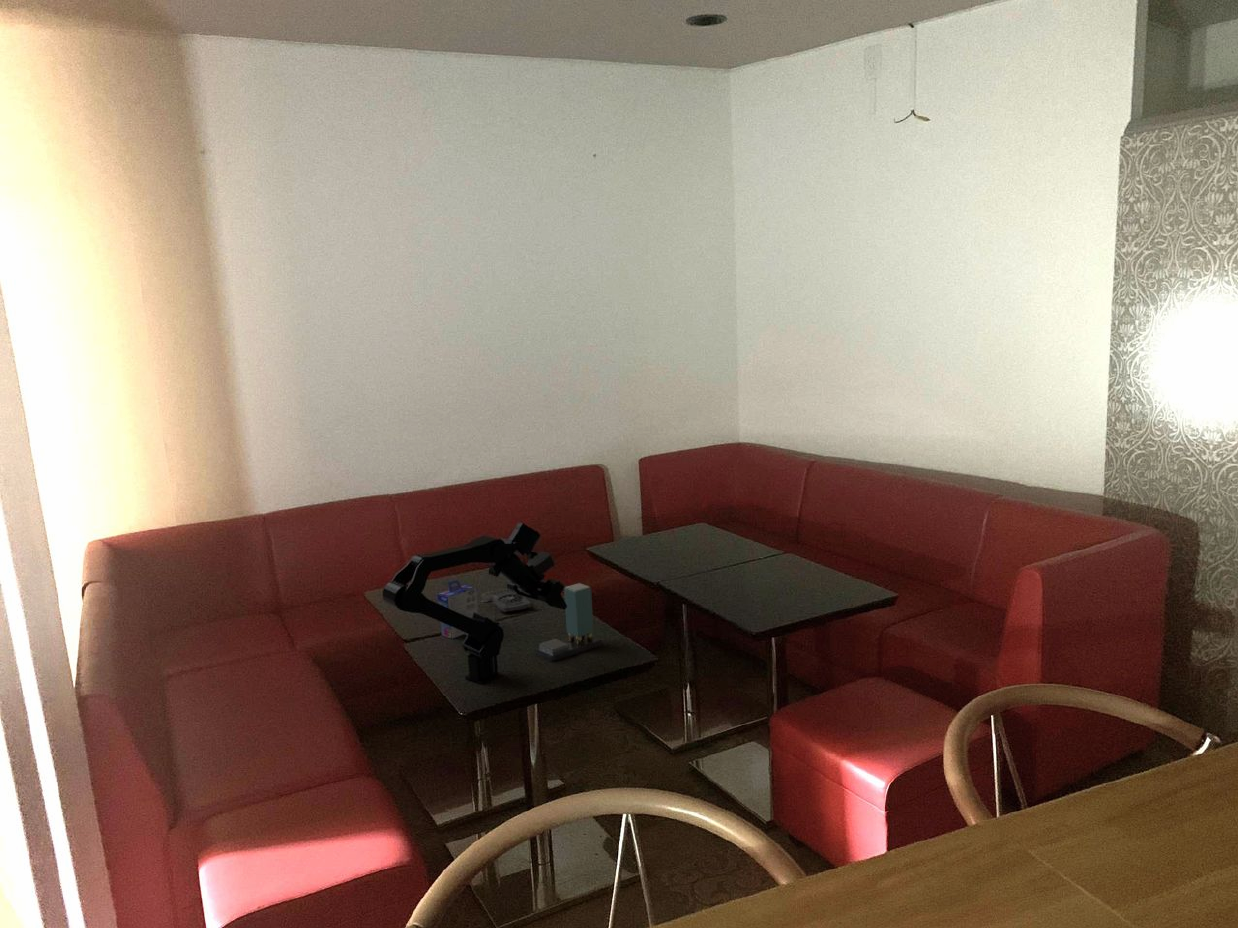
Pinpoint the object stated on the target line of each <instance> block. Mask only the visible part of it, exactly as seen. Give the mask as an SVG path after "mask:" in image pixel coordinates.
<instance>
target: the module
mask: <svg viewBox="0 0 1238 928" xmlns="http://www.w3.org/2000/svg"><path fill="white" fill-rule="evenodd" d="M563 593H564V594H563V595H564V601H565V603H566V605H567V608H566V609H565V622H566V624H565V625H566V633H567V634H568V635H569V634H571V635H574V636H576V637H581V636H584V635H587V634H590V633H592V634H593V633H594V617H593V616H594V615H593V614H594V613H593V599H592V597H593V596H592V587H590V586H589V585H586V584H583V583H581V582H579V583H575V584H571V585H568V586H567V585H566V586H564V589H563Z"/></svg>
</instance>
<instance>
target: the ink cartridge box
mask: <svg viewBox="0 0 1238 928" xmlns="http://www.w3.org/2000/svg"><path fill="white" fill-rule="evenodd" d="M453 584H456V585H454V586H452V585H453ZM447 587H448V590H446V591H443V592H439V593H437V594H436V595H437V603H438V604H440V605H442V606H444V607H447V608H449V609H451V610H453V611H456V612H458V613H460V614H462V615H464V616H467V617H473V614H474V612H475V613H478V614H479V610H478V600H477V590H476V589H477V588H476V587H475V586H470V585H467V584H463V585H461V584H460V582H459V580H458V579H455V580H453V581H449V582H447ZM440 629H441V636H443V637H446V638H449V639H455V638H457V637H461V636H463V635H465V634H464V633H463V632H462V631H461V630H458V629H456V628H454V627H451V626H449V625H447V624H445V623H442V622H440Z"/></svg>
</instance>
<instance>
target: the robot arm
mask: <svg viewBox="0 0 1238 928" xmlns="http://www.w3.org/2000/svg"><path fill="white" fill-rule="evenodd" d="M541 538H542V535H541V533H540V532H538V530H535V529H533V528H532V527H530V526H529V525H527V524H525V523H524V522H520V521H518V522H517V524H516V526H515V527H514V530H513V531H512V533H511V534H510V535H509V537H508V538H507V539H506V538H502V537H501V538H499V537H498V538H497V537H495V536H490V535H481V536H479V537H477V538H474V539H472V540H470V541H469V542H468V543H466V544H464V545H460V546H456V547H452V548H447V549H442V550H438V551H437V550H436V551H434V552H433V551H432V552H429V553H423V554H422V553H418V554H416V555H414V556H412V557H411V558H410V559H409V561H408V562H407V564H406V565H405V566H403V567H402V568H401V569H400V570H399V571H398V572H396V574H395V575H394V576H393V578H392V579H391V580H390V581H389V582H388V583H386V584H385V585H384V586H383V589H382V596H381V597H382V599H383V601H384V603H386V604H387V605H389V606H392V607H393V608H396V609H397V610H399V611H402V612H406V613H413V614H420V615H421V614H422V615H423V616H424V615H425V616H427V617H429V618H431V619H433V620H436V621H438V622H440V623H441V622H442V623H445V624H447V625H449V626H451V627H454V628H456V629H458V630H461V631H462V632H463V633H464V634H463V635H466V637H465V639H464V640H463V642H462V643H461V647H462V649H463V651H464V652H465V653H466V652H467V653H468V654H467V665H468V675H465V677H464V678H465V680H469V681H472V682H475V683H477V684H480V685H484V684H486V683H488V682H490V681H492V680H493V681H494V680H496V679H497V678H499V677H501V676H502V673H501V672H499V669H498V657H497V656H499V655H500V651H501V648H502V647H501V646H502V642H503V640H504V637H505V636H504V635H505V634H504V629H503V627H501V626H500V622H499V621H496V620H494V619H491V618H488V617H486V616H484V615H482V614H480V613H479V612H478V613H475V612H474V614H473V617H467V616H464V615H462V614H460V613H458V612H456V611H453V610H451V609H449V608H447V607H444V606H442V605H440V604H438V602H435V601H433V600H431V599H429V597H427V596H426V595H424V593H422V592H423V590H424V589H425V586H426V584H427V581H428V577H429V576H430V575H431V573H433V572H437V571H441V570H445V569H450V568H453V567H455V568H456V567H458V566H464V565H467V564H472V563H473V564H474V563H479V564H488V574H489V576H493V577H495V578H497V577H498V578H499V576H500V574H501V575H503V576H504V577H505V578H506V579H507V583H506V589H507V588H508V589H509V592H510V591H512V592H514V593H516V594H518V595H521V596H525V597H526V598H527V599H528V598H529V599H532V600H536V601H539V602H540V603H542V604H543V605H546V606H548V607H550V608H551V607H553V608H556V609H560V610H565V609H566V608H567V605H566V603H565V598H563V596H562V592H564V588H565V584H563V583H562V582H561V580H560V581H559V580H557V579H554V578H549V579H547V581H546V582H545V581H543V580H544V579H545V577H546V574H545V573H546V572H547V571H549V570H550V569H551V568H554V567H555V565H556V562H555V560H554V559H553V555H552V554H551V553H550V552H546V551H537V552H536V551H533V550H534V548H535V547H536V545H537V544H538V542H539V541H540V539H541ZM524 556H526V560H527V563H526V562H525V561H523V560H522V559H521V558H520V557H524ZM409 582H410V583H409ZM408 583H409V584H408Z"/></svg>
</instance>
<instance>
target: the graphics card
mask: <svg viewBox="0 0 1238 928" xmlns="http://www.w3.org/2000/svg"><path fill="white" fill-rule="evenodd" d="M480 597H481V598H483V599H481V603H482V604H483V602H484V603H487V602H488V601H490V603H492V604H493V603H494V604H493V605H494V606H496V607H497V608H498V609H499V610H500V611H502V612H503V613H507V612H508V611H509V612H514V610H515V611H521V612H522V611H524V610H525V609H528V608H531V607H532V602H531V601H530V600H529V599H528V597H525V596H521V595H518V594H516V593H514V592H512V591H510V590H509V589H508V588H507V587H506V588H502V589H497V590H492V591H486V592H483V593H482V594H480ZM492 601H493V602H492Z"/></svg>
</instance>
